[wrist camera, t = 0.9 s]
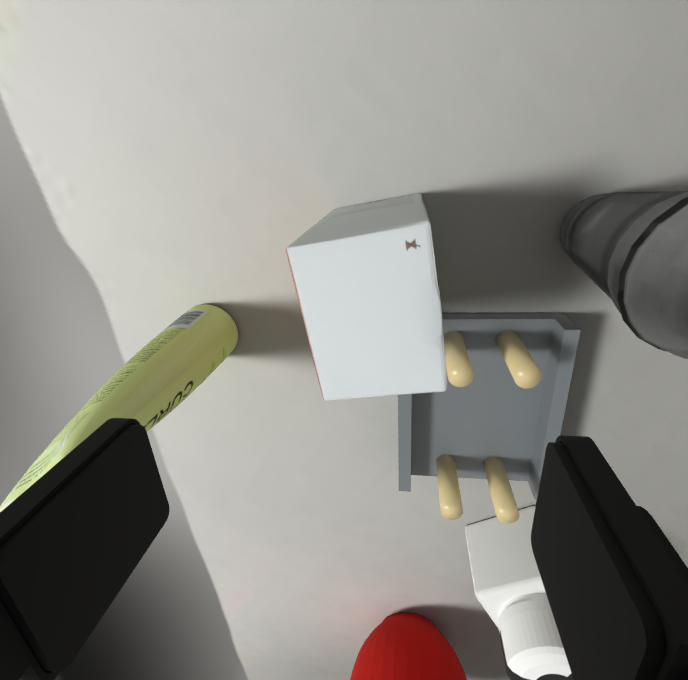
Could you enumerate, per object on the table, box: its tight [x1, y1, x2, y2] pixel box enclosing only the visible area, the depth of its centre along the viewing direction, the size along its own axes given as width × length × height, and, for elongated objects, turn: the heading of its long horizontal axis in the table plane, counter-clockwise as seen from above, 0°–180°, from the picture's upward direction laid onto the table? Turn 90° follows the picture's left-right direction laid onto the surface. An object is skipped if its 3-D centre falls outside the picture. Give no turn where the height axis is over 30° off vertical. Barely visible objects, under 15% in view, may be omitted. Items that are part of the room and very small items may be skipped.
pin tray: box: [398, 313, 581, 524], centre depth 30 cm, size 15×12×7 cm
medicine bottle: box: [465, 506, 574, 680], centre depth 34 cm, size 7×7×12 cm
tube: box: [0, 304, 238, 512], centre depth 26 cm, size 6×5×20 cm
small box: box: [286, 193, 448, 401], centre depth 24 cm, size 8×6×13 cm
